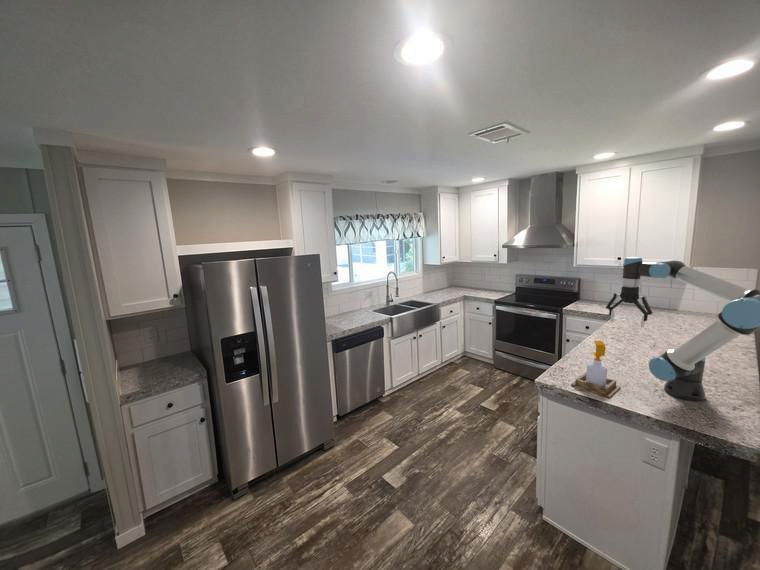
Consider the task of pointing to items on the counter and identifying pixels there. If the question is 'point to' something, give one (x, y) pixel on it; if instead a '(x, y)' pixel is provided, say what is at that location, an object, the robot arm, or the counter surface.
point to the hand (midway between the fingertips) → (626, 324)
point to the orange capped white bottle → (597, 367)
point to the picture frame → (606, 392)
